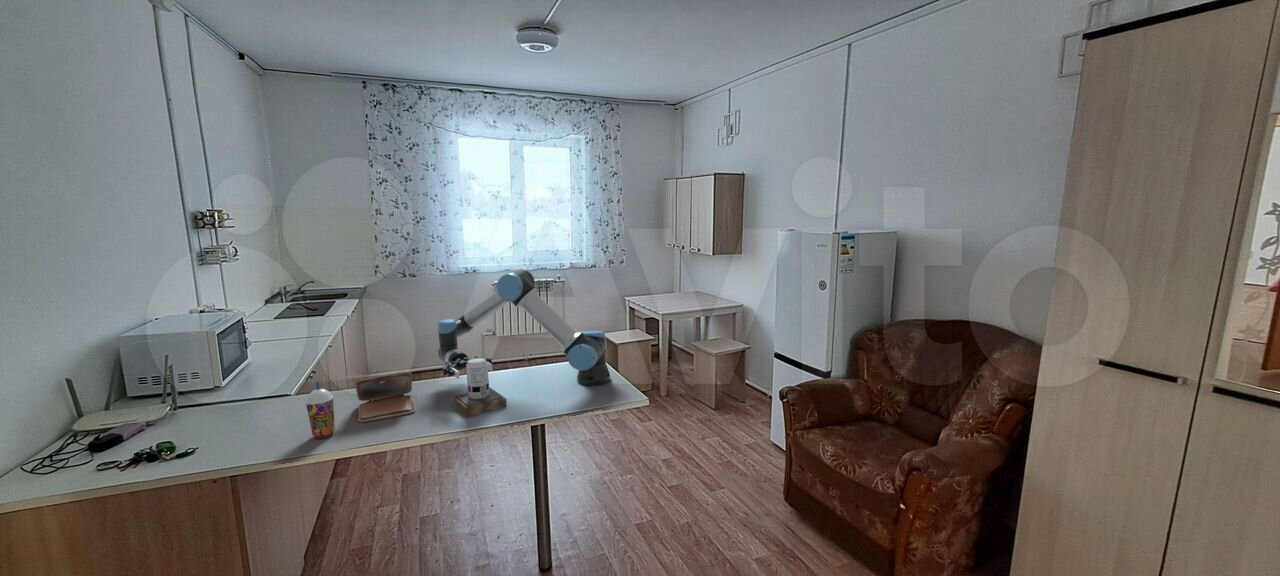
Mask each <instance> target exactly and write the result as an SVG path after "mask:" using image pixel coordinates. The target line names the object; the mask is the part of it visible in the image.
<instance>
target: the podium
mask: <svg viewBox="0 0 1280 576" xmlns="http://www.w3.org/2000/svg"><path fill="white" fill-rule="evenodd" d="M452 405H453V406H454V407H455V408H456V409H457V410H459V411H460V412H461V413H462V414H463V415H464V416H465V417H466V418H469V417H472V416H474V417H475V416H477V415H481V414H484V413H488V412H491V411H496V410H499V409H503V408H506V407H507V406H508V405H507V398H506V397H505V396H503V395H502V394H501V393H500V392H498V391H496V390H494V389H493V388H492V387H489V395H488V396H487V397H485V398H483V399H471V398H470V397H469V396H468V392H465V393H461V394H457V395H456V394H455V395H454V396H452Z"/></svg>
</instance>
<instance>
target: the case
mask: <svg viewBox="0 0 1280 576" xmlns="http://www.w3.org/2000/svg"><path fill="white" fill-rule="evenodd" d="M354 387H355V392H356V397H357V400H358V401H363V403H360V404H359V405H358V406H357V407H358V408H357V409H358V410H357V413H358V414H357V415H358V416H357V421H358V423H360V424H361V423H369V422H375V421H379V420H380V421H381V420H385V419H392V418H397V417H401V416H407V415H411V414H414V413H415V412H416V411H417V409H416V406H415V400H414V397H413V396H412V395H409V393H411V392H412V390H413V373H412V372H411V371H409V370H408V371H400V372H393V373H388V374H381V375H377V376H370V377H365V378H358V379H357V380H355V382H354ZM407 394H408V395H407Z"/></svg>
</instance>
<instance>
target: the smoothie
mask: <svg viewBox="0 0 1280 576" xmlns="http://www.w3.org/2000/svg"><path fill="white" fill-rule="evenodd" d="M315 383H316V389H313V390H312V391H311V392H310V393H309V394H308V396H307V398H306V400H305V405H306V410H307V416H308V420H309V425H310V430H311V434H312V436H314V439H318V440H322V439H326V438H329V437H332V436H333V435H334V432H335V429H336V427H335V408H334V404H335V403H334V402H335V401H334V395H332V393H331V392H330V391H329V390H327V389H326V388H320V382H319V381H316V382H315Z"/></svg>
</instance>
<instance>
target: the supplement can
mask: <svg viewBox="0 0 1280 576" xmlns="http://www.w3.org/2000/svg"><path fill="white" fill-rule="evenodd" d="M465 368H466V370H465V371H466V380H467V381H466V383H467V393H468V396H469V397H470V398H471V399H483V398H485V397H487V396H488V395H489V388H490V382H489V381H490V380H489V370H488V364H487V361H486V359H485V357H480V358H474V357H473V359H470V360H468V362H467V364H466V367H465Z"/></svg>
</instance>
